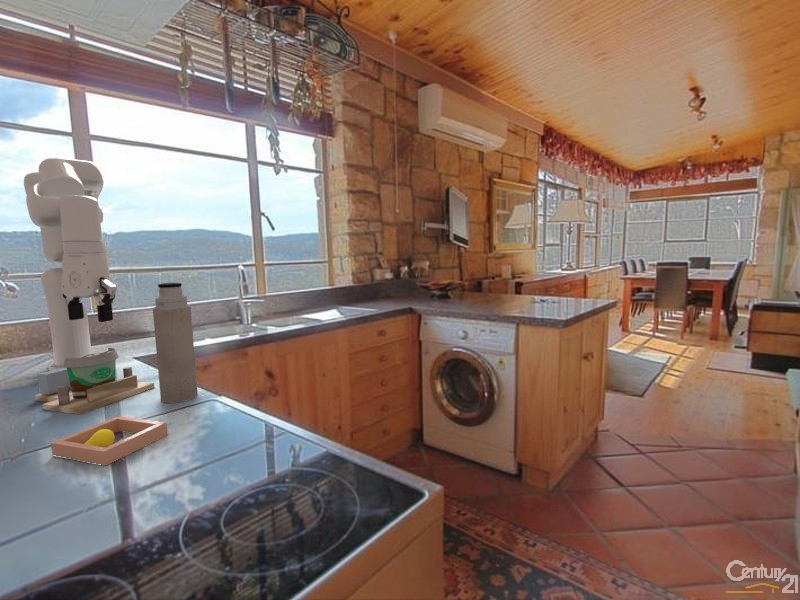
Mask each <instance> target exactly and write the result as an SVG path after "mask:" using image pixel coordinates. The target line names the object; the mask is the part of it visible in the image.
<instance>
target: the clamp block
mask: <svg viewBox="0 0 800 600" xmlns="http://www.w3.org/2000/svg"><path fill="white" fill-rule="evenodd" d="M37 380H38V387H39V394H47V395H49V394H53V393H56V392H57V387H60V386H68V388H71V385H70V381H69V377H68V372H67V368H59V369H55V370H51V371H50V370H48V371H44V372H39V373H37Z"/></svg>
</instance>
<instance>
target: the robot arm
mask: <svg viewBox="0 0 800 600" xmlns="http://www.w3.org/2000/svg"><path fill="white" fill-rule="evenodd" d="M102 171H103V170H102V169H101V168H100V166H99V165H98V164H96V163H95V162H93V161H90V160H89V161H88V160H82V159H81V160H80V159H70V158H63V157H48V158H45V159H44V160H42V161H41V162H40V164H39V166H38V172H29V173H27V174H25V176H24V178H23V187H24V191H25V195H26V197H25V199H26V202H25V203H26V206H27V210H28V211H27V212H28V215H29V216H28V217H29V218H30V220H31V222H32V223H33V224H34V225H35V226H37V227H39V228H40V229H39V230H40V237H41V244H42V250H43V255H44V257H45V259H46V260H47V261H48V262H50V263H53V264H54V263H55V264H61V266H60V267H53V268H50V269H47V270H44V272H43V273H41V276H40V285H41V287H42V291H43V294H44V297H45V301H46V305H47V312H48V319H49V327H50V335H51V345H52V352H53V353H52V355H49V359H50V360H53V363H52V364H49V365H48V371H51V370H55V369H59V368H63V366H64V361H65V358H82V357H84V356H86V355H90V354H93V353H92V345H91V336H90V327H89V326H90V325H89V317H88V310H87V309H86V307H85V306H84V305H83V302H81V300H82V298H87V299H88V298H92V297H93V298H94V299H95V300H96V302H97V303H98V305H96V309H97V320H98V322H99V323H104V322H105V323H106V322H109V321H110V322H111V321H113V320H114V316H113V315H114V313H113V304H114V299H115V298H116V294H117V290H118V287H117V285H115V284H113V283H112V281H111V274H110V273H111V272H110V267H109V265H110V264H109V257H108V250H107V245H106V242H105V240H104V238H103V236H102V235H103V233H102V226H101V225H102V223H103V222H104V221H103V220H104V213H103V208H102V206H100V205H99V201H98V199H99V196H100V194H101V192H102V191H103V187H104V173H103V172H102ZM102 297H103V298H102Z"/></svg>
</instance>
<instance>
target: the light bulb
mask: <svg viewBox="0 0 800 600" xmlns="http://www.w3.org/2000/svg"><path fill="white" fill-rule="evenodd" d="M115 437H116V436H115V433H113V432H112V431H111V430H108V429H102V430H99V431H97V432H96V433H95V434H94V435H93V436H92V437H91V438H90V439H89V440H88V441H87V442H86V443H85V444H86V445H92V446H98V447H104V448H106V447H108V446H110V445H112V444H114V442H115V439H116V438H115Z"/></svg>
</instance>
